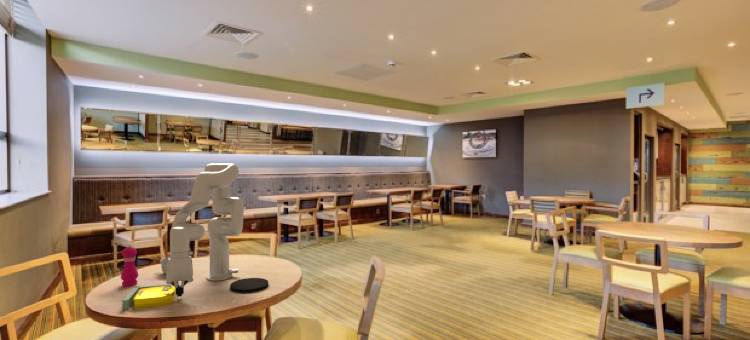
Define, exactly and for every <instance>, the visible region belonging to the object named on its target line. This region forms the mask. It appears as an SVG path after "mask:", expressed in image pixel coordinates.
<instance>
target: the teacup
mask: <svg viewBox="0 0 750 340" xmlns="http://www.w3.org/2000/svg"><path fill="white" fill-rule="evenodd" d="M169 258H170V256H168V257H161V258H160V261H159V263H160V267H161V271H162V272H163V274H165V275H166V274H167V264H168V259H169Z"/></svg>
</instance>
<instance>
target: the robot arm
mask: <svg viewBox="0 0 750 340" xmlns="http://www.w3.org/2000/svg"><path fill="white" fill-rule="evenodd" d="M239 172H240V171H239V167H238V166H237V165H236V164H235V163H222V162H221V163H219V162H218V163H217V162H216V163H215V162H214V163H208V164H207V165H205V166H204V171H203V172H199V173H198V174H197V175H196V178H195V182H194V185H193V188H192V191H191V194H190V198H189V201H187V203H186V204H184V205H183V206H182V207H181V208H180V209H179V210H178V211H177V213H176V214H175V216H174V219H173V222H172V224H171V229H169V230H170V231H169V244H170V245H169V253H170V254H169V257H170V258H169V259H168V264H167V274H165V277H166V282H165V284H172V285H173V286H174V287H175V288H176V297H177V298H179V297H180V298H181V297H182V296H183V295H184V293H185V292H184V291H185V289H184V288H185V286H186V285H187V284H188V283H193V281H194V277H193V274H194V269H193V268H194V267H193V260H192V259H193V258H192V256H191V255H193V253H194V251H192V250H190V242H192V241H199V240H201V239H202V238H203V237H204V236H205V234H206V233H205V232H206V229H205V227H204V226H203V225H202V224H200V223H199V224H198V223H186V221H187V219H188V218H189V217H190V216H191V215H192V214H193V213H196V212H197V211H200V210H202V209H205V208H207V207H208V206H209V203H210V199H211V195H212V201H211V202H212V205H211V208H212V212H213V214H215V215H220V217H218V216H217V217H213V218H211V219H209V221H208V222H207V225H206V226H207V233H208V237H209V274H207V275H206V280H207V281H214V282H215V281H216V282H217V281H225V280H228V279H231V278H232V277H233V274H238V273H239V269H238V268H231V266H230V241H229V239H228V237H238V236H240V235H241V234H242V231H243V228H244V227H243V226H244V215H245V214H244V212H245V205H244V201H243V200H242V198H240V197H239V196H238V197H237V196H231V186H230V185H231V184H233V182H234V181H235V180H237V178H238V176H239ZM221 216H222V217H221ZM224 216H230V217H224ZM179 282H181V283H180V284H179Z"/></svg>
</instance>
